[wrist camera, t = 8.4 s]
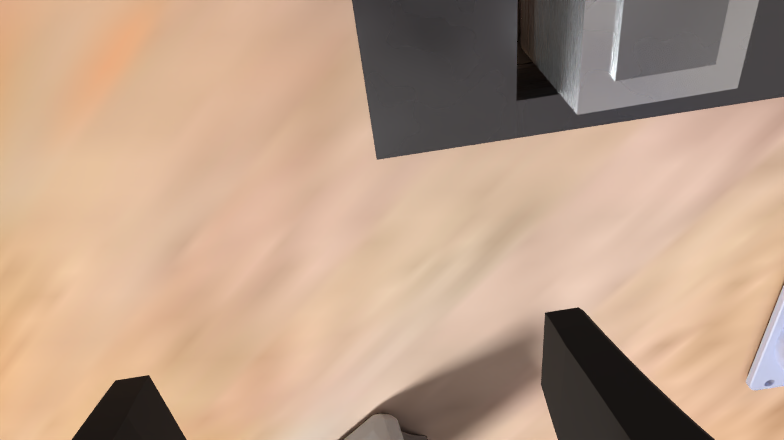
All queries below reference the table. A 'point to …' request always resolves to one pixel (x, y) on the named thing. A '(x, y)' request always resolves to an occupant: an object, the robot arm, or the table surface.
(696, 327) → the table surface
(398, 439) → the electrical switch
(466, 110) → the dark grey flat block
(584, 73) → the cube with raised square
